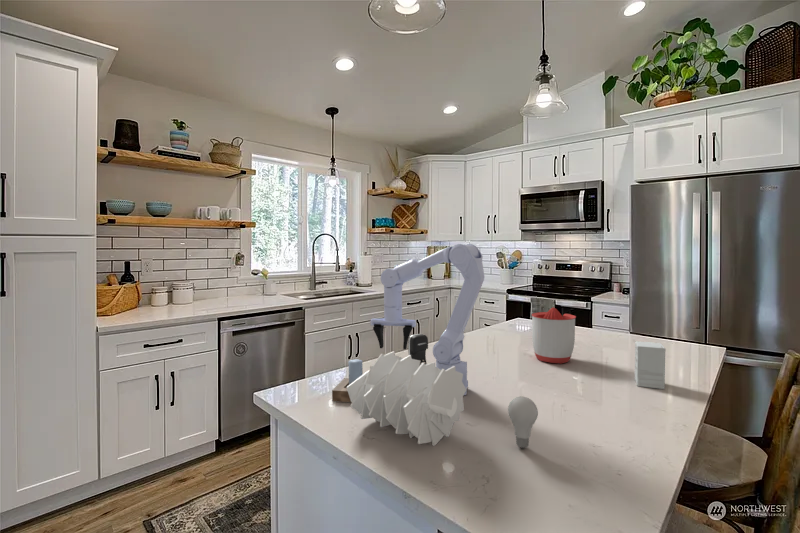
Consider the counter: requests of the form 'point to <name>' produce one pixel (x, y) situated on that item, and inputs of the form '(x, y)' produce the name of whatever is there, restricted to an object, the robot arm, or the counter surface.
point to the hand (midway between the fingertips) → (393, 348)
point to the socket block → (341, 391)
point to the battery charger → (418, 347)
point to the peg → (355, 370)
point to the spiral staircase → (409, 396)
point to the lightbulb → (522, 418)
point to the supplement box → (650, 364)
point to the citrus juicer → (553, 336)
